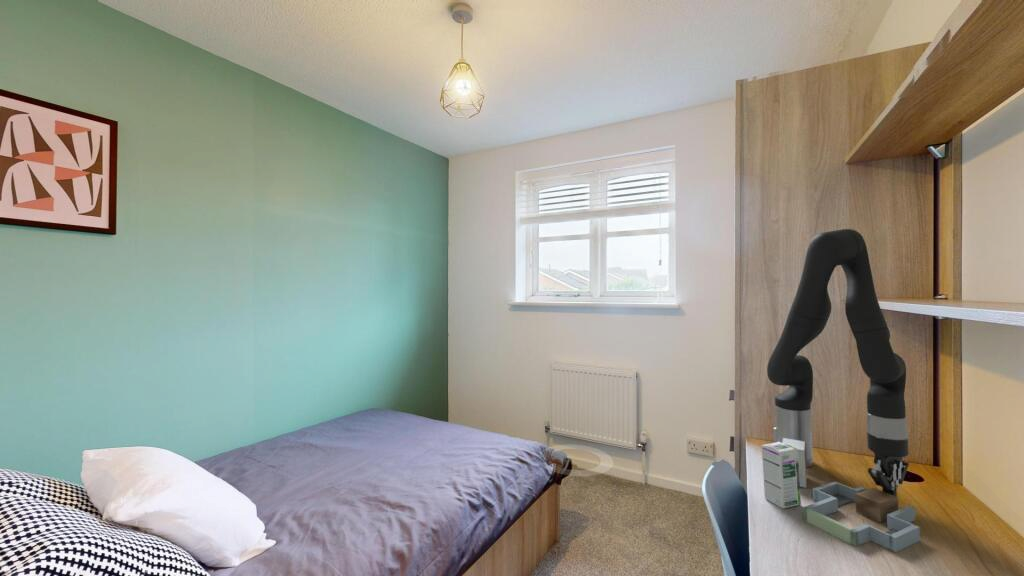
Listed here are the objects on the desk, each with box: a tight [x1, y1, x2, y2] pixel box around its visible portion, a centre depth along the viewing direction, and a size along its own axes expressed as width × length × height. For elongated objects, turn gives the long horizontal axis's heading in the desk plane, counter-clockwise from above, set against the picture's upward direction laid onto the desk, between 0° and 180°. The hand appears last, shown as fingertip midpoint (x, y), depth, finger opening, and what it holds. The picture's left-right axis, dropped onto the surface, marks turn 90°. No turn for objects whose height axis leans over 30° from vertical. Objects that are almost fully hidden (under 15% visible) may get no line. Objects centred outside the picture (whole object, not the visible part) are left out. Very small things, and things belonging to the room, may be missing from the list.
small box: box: [782, 438, 808, 489], centre depth 116 cm, size 8×6×10 cm
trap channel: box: [801, 481, 921, 553], centre depth 96 cm, size 20×22×3 cm
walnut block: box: [855, 487, 899, 524], centre depth 99 cm, size 5×7×4 cm
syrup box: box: [761, 442, 802, 510], centre depth 106 cm, size 6×6×14 cm
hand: (890, 502), depth 101 cm, fingers closed
